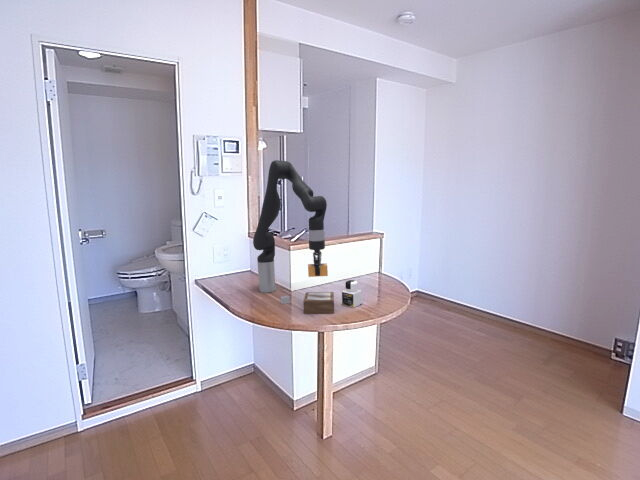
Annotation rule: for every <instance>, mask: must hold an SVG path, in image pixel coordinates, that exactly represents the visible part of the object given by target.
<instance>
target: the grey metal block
mask: <svg viewBox="0 0 640 480" xmlns="http://www.w3.org/2000/svg"><path fill="white" fill-rule="evenodd" d="M290 299H291V298H290V296H289V295H283V296H280V303H281V305H286V304H287V303H288V304H291V300H290Z"/></svg>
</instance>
